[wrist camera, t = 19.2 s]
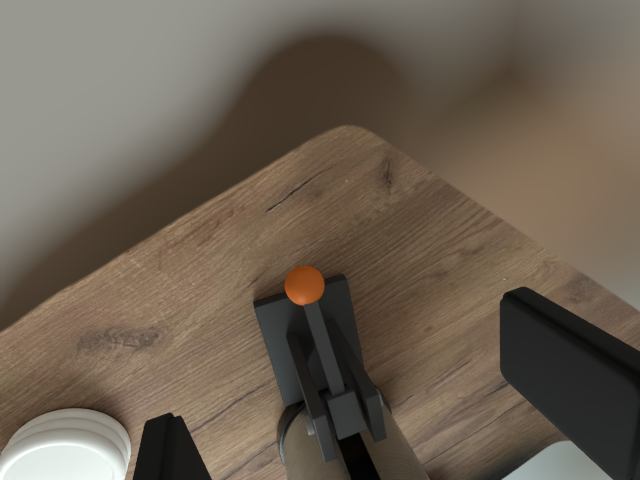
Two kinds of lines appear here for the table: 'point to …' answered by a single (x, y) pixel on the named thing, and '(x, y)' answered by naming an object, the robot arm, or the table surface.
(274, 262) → the table surface
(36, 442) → the white jar lid
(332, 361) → the switch lever
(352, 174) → the table surface
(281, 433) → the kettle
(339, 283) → the switch base
